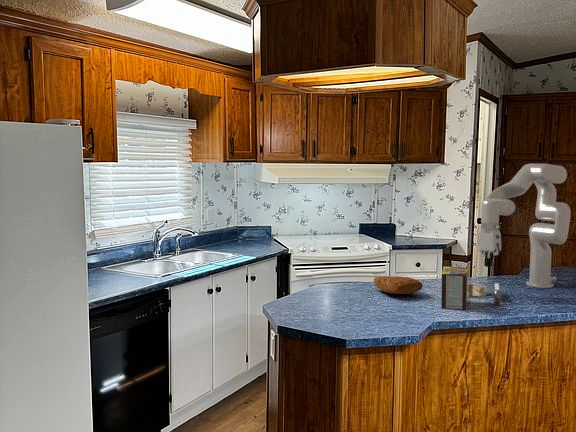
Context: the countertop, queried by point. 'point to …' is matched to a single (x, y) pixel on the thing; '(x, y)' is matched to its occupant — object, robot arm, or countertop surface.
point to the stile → (469, 290)
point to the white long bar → (496, 286)
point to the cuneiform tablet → (398, 284)
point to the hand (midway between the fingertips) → (488, 266)
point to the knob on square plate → (497, 299)
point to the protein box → (454, 288)
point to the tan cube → (479, 290)
